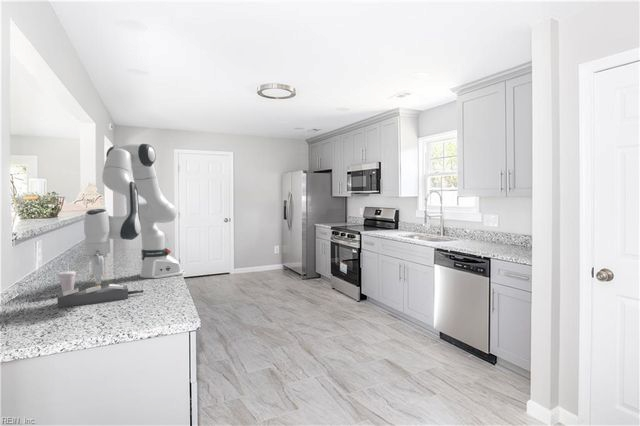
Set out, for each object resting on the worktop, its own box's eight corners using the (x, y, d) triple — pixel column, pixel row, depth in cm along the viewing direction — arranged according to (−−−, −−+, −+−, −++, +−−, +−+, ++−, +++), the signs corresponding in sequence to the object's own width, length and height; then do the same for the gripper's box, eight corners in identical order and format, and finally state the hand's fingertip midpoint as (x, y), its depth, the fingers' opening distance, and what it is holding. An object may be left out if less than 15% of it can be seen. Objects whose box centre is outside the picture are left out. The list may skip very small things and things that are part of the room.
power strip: (142, 292, 162) (142, 283, 162) (144, 296, 156) (143, 286, 156) (59, 303, 146) (59, 292, 146) (57, 307, 140) (57, 297, 140)
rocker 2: (100, 287, 151) (99, 284, 150) (100, 289, 148) (99, 286, 148) (86, 291, 148) (85, 288, 148) (86, 293, 145) (85, 290, 145)
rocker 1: (78, 289, 147) (78, 287, 147) (78, 291, 144) (77, 289, 144) (64, 294, 144) (63, 291, 144) (63, 296, 142) (62, 293, 141)
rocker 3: (122, 287, 155) (122, 284, 155) (122, 289, 152) (123, 286, 152) (108, 286, 152) (109, 283, 152) (108, 288, 149) (109, 285, 149)
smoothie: (67, 296, 155) (66, 264, 155) (55, 296, 157) (53, 263, 156) (80, 292, 162) (79, 261, 161) (68, 292, 163) (66, 260, 162)
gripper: (107, 252, 141) (108, 287, 141) (106, 245, 158) (107, 277, 159) (87, 253, 138) (88, 290, 138) (89, 247, 155) (90, 279, 156)
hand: (98, 283), depth 149 cm, fingers closed
